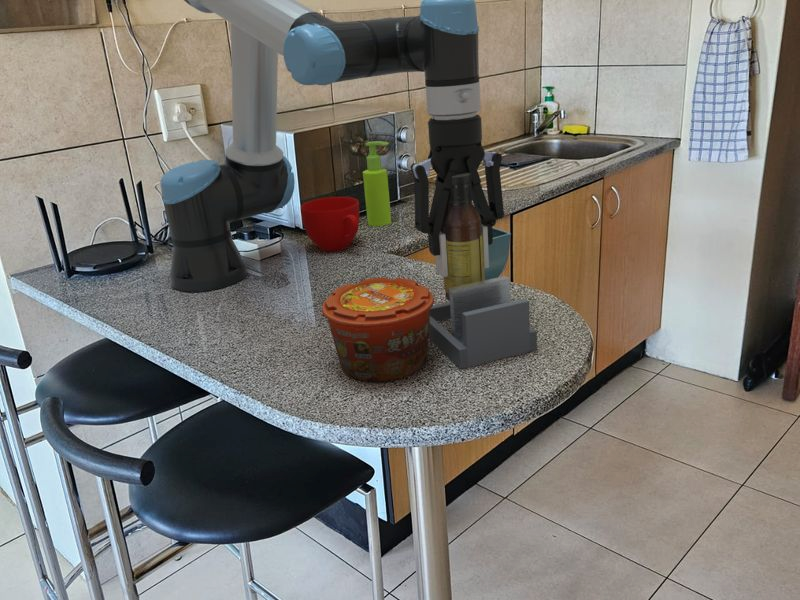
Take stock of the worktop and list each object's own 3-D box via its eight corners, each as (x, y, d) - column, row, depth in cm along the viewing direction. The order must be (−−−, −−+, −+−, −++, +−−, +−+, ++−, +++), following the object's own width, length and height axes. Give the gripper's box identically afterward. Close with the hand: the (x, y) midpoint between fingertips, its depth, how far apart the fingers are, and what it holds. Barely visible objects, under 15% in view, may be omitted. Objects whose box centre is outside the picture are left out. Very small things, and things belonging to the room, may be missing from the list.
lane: (413, 324, 114) (409, 278, 111) (481, 308, 117) (479, 264, 114) (460, 369, 98) (457, 317, 95) (536, 349, 102) (536, 299, 99)
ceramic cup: (334, 264, 145) (328, 218, 142) (295, 248, 158) (289, 205, 155) (384, 249, 152) (380, 205, 148) (343, 234, 165) (339, 193, 161)
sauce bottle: (459, 288, 112) (454, 166, 105) (493, 295, 108) (489, 169, 101) (435, 302, 107) (428, 175, 100) (469, 310, 103) (464, 178, 96)
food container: (307, 376, 100) (297, 308, 96) (369, 332, 112) (362, 270, 108) (401, 399, 92) (395, 325, 88) (457, 349, 104) (453, 282, 100)
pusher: (452, 350, 104) (449, 288, 100) (507, 336, 107) (505, 275, 103) (456, 353, 103) (452, 290, 99) (510, 339, 105) (509, 278, 102)
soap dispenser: (390, 226, 168) (383, 143, 161) (364, 226, 171) (356, 144, 163) (398, 220, 173) (391, 139, 166) (372, 219, 176) (365, 140, 168)
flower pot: (475, 290, 125) (473, 243, 122) (447, 278, 132) (444, 233, 129) (513, 278, 129) (512, 232, 126) (483, 267, 136) (481, 223, 133)
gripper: (400, 126, 91) (413, 289, 100) (527, 109, 97) (530, 264, 105) (381, 121, 98) (395, 274, 106) (501, 105, 104) (506, 252, 112)
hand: (462, 269), depth 106 cm, fingers closed on sauce bottle, 6 cm apart
